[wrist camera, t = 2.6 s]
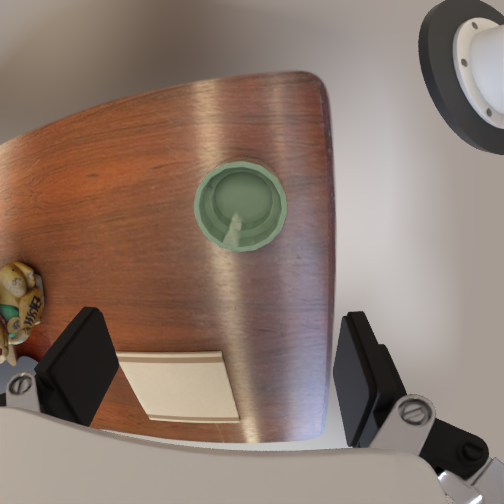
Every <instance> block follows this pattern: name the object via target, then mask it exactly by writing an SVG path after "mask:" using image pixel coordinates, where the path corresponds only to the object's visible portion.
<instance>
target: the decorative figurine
mask: <svg viewBox="0 0 504 504" xmlns="http://www.w3.org/2000/svg"><path fill="white" fill-rule="evenodd" d="M44 306H45V305H44V295H43V287H42V279H41V277H40V276H39V275H36V274H34V271H33V269H32V268H30V267H29V266H27V265H25V264H23V263H21V262H17V261H13V262H10V263H8V264H6V265H4V266H2V267H1V268H0V363H3V362H4V360H5V359H6V358H7V356H8V352H9V350H8V344H10V343H12V344H19V343H22V342H23V341H25V340H26V339H27V338H28V336H29V335H30V333H31V331H32V328H33V326H34V325H35V324H39V323H40V322H41V319H42V318H41V314H42V311H43V307H44Z"/></svg>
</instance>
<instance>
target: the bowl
mask: <svg viewBox="0 0 504 504" xmlns="http://www.w3.org/2000/svg"><path fill="white" fill-rule="evenodd" d="M194 211H195V216H196V221H197V224H198V225H199V227H200V228H201V230H202V231H203V233H204V234H205V236H206V237H207V238H208V239H210V240H211V241H212V242H214V243H215V244H217V245H218V246H219V247H221V248H225V249H229V250H233V251H236V252H241V251H250V250H256V249H258V248H260V247H262V246H264V245H266V244H268V243H270V242H271V241H272V240H273V239H274V238H275V237H276V235H277V234H278V233H279V232H280V231H281V230H282V228H283V225H284V222H285V218H286V215H287V201H286V193H285V190H284V187H283V184H282V182H281V180H280V178H279V176H278V175H277V173H276V171H275V170H274V169H273V168H271V167H270V166H269V165H268V164H266V163H265V162H264V161H262V160H259V159H255V158H252V157H248V156H243V157H236V158H230V159H228V160H226V161H225V162H223V163H221V164H219V165H218V166H216V167H215V168H214V169H212V170H211V171H210V172H209V173H208V174H207V175H206V176H205V178H204V179H203V180H202V182H201V183H200V185H199V186H198V188H197V191H196V196H195V200H194Z"/></svg>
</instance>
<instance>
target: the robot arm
mask: <svg viewBox="0 0 504 504" xmlns="http://www.w3.org/2000/svg"><path fill="white" fill-rule="evenodd" d="M453 61H454V67H455V71H456V74H457V78H458V80H459V83H460V85H461V88H462V90H463V92H464V94H465V96H466V98H467V100H468V101H469V103H470V104H471V106H472V107H473V109H474V110H475V111H476V112H477V113H478V114H479V115H480V117H482V118H483V119H484V120H485V121H486V122H487V123H489V124H491V125H493V126H494V127H497V128H501V129H504V25H498V24H497V23H495V22H493V21H491V20H489V19H485V18H473V19H470V20H467V21H465V22H464V23H462V24H461V25H460V26H459V27H458V29H457V31H456V33H455V35H454V40H453ZM118 368H119V360H118V358H117V355H116V352H115V349H114V347H113V344H112V341H111V338H110V335H109V332H108V329H107V326H106V323H105V320H104V317H103V314H102V312H100V311H99V309H98V308H95V307H84V308H82V310H81V311H80V312H79V313H78V314H77V315H76V317H75V318H74V319H73V320H72V321H71V323H70V324H69V325H68V326H67V327H66V329H65V330H64V331H63V332H62V334H61V335H60V336H59V337H58V339H57V340H56V341H55V342H54V344H53V345H52V346H51V347H50V349H49V350H48V351H47V353H46V354H45V355H44V356H43V358H42V359H41V360H40V362H39V363H38V364H37V366H36V367H35V368H34V370H35V372H36V373H37V374H36V375H35V376H33V374H32V373H29V372H20V373H18V374H15V375H14V376H13V377H11V378H10V380H9V381H8V383H7V385H6V393H3V394H0V504H449V503H448V500H447V497H446V495H448V496H449V497H450V498H451V499H452V500H453V502H452V504H504V464H503V463H502V462H501V461H500V460H498V459H497V458H496V457H495V458H494V459H491V458H490V457H489V450H488V447H487V444H486V443H485V442H484V441H483V439H481V438H479V437H478V436H476V435H473V434H471V433H469V432H466V431H464V430H462V429H459V428H457V427H455V426H452V425H450V424H448V423H446V422H444V421H441V420H439V419H437V418H435V417H436V409H435V407H434V405H433V403H432V402H430V400H428V399H427V398H425V397H423V396H420V395H417V394H414V395H413V394H410V395H407V393H406V390H405V388H404V385H403V383H402V381H401V379H400V376H399V374H398V372H397V369H396V367H395V365H394V362H393V360H392V358H391V356H390V354H389V351H388V349H387V348H386V346H385V345H384V344H378V342H377V340H376V337H375V335H374V333H373V331H372V329H371V326H370V324H369V322H368V320H367V317H366V315H365V313H364V312H363V311H359V312H348V314H347V316H343V317H342V322H341V328H340V334H339V340H338V346H337V351H336V357H335V362H334V367H333V377H334V382H335V386H336V391H337V396H338V401H339V406H340V410H341V415H342V420H343V425H344V430H345V435H346V440H347V445H348V446H349V447H351V446H352V447H353V448H341V449H323V450H302V451H243V450H224V449H211V448H199V447H190V446H182V445H174V444H167V443H160V442H154V441H149V440H143V439H138V438H133V437H128V436H123V435H118V434H114V433H110V432H106V431H102V430H98V429H94V428H90V427H89V426H90V424H91V422H92V420H93V418H94V416H95V414H96V412H97V410H98V408H99V406H100V403H101V401H102V399H103V397H104V395H105V393H106V392H107V390H108V388H109V386H110V384H111V382H112V380H113V378H114V376H115V374H116V372H117V370H118Z"/></svg>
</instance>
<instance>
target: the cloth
mask: <svg viewBox="0 0 504 504" xmlns="http://www.w3.org/2000/svg"><path fill="white" fill-rule="evenodd" d="M115 352H116V355H117V358H118V360H119V364H120V366H121V368H122V370H123V371H124V373H125V375H126V377H127V379H128V381H129V383H130V385H131V387H132V389H133V390H134V392H135V394H136V396H137V398H138V399H139V401H140V403H141V405H142V406H143V408H144V410H145V412H146V413H147V415H148V417H149V418H150V420H162V421H176V422H196V423H240V418H239V414H238V411H237V407H236V404H235V400H234V396H233V393H232V389H231V385H230V382H229V378H228V374H227V371H226V367H225V363H224V359H223V355H222V351H209V352H119V351H115Z"/></svg>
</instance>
